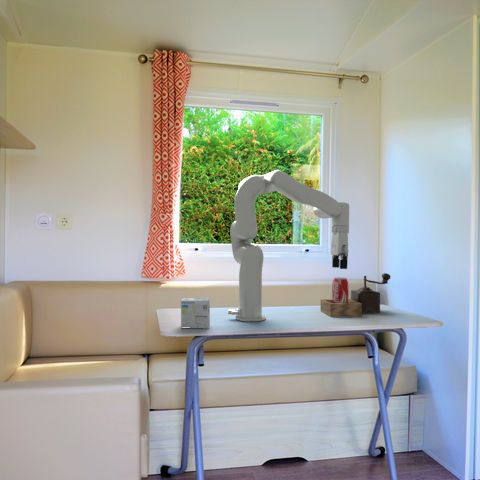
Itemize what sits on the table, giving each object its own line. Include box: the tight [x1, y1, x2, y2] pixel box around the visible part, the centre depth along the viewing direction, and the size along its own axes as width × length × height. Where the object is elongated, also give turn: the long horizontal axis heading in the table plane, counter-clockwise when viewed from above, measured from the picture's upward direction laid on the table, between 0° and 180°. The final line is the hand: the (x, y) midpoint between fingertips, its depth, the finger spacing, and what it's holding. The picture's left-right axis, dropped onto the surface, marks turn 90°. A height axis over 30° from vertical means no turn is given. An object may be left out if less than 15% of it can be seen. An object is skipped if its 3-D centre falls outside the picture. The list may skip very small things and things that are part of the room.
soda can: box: [331, 277, 349, 303], centre depth 186 cm, size 7×7×12 cm
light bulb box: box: [180, 297, 211, 329], centre depth 158 cm, size 11×7×11 cm, turn 93°
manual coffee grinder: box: [350, 272, 391, 314], centre depth 192 cm, size 16×11×18 cm
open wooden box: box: [320, 298, 363, 318], centre depth 187 cm, size 14×14×6 cm
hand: (339, 268), depth 186 cm, fingers open, 9 cm apart
